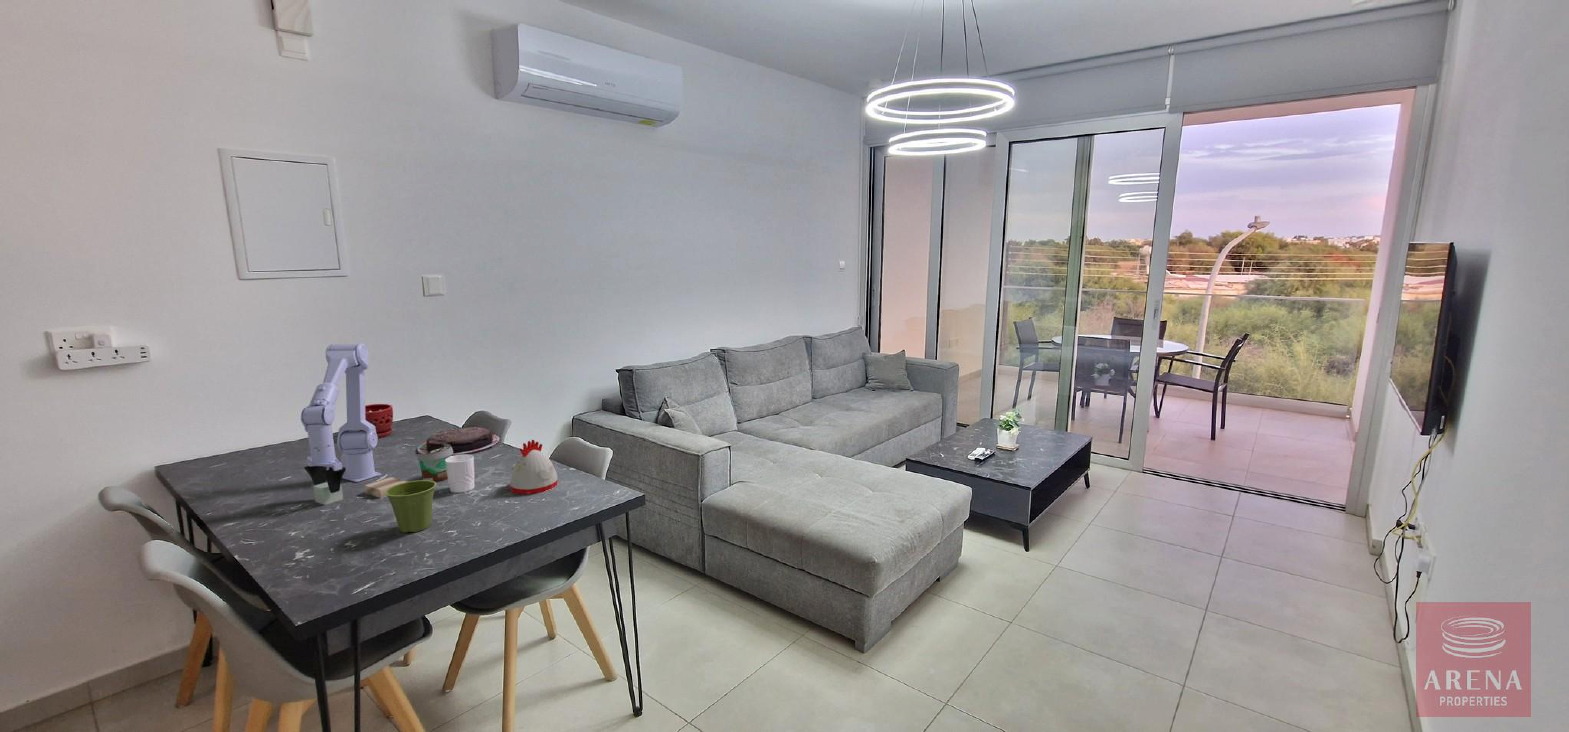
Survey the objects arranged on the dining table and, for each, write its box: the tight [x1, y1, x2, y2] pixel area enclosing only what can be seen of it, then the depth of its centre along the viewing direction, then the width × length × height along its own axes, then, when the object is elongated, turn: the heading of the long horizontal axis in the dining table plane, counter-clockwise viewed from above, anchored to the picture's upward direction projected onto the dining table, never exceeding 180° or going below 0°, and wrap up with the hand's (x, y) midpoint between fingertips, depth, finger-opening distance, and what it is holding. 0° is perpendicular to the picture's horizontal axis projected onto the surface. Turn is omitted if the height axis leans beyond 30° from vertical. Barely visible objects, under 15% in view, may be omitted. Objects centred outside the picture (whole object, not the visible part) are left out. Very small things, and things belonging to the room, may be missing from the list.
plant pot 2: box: [385, 479, 437, 533], centre depth 166 cm, size 12×12×11 cm
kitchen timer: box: [509, 439, 559, 495], centre depth 195 cm, size 14×14×15 cm
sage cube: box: [313, 481, 344, 506], centre depth 185 cm, size 5×5×5 cm
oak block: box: [364, 476, 408, 499], centre depth 192 cm, size 8×8×3 cm
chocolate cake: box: [417, 426, 500, 456], centre depth 237 cm, size 28×28×7 cm
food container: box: [417, 444, 453, 483], centre depth 202 cm, size 12×6×10 cm, turn 168°
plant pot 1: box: [358, 403, 394, 439], centre depth 250 cm, size 13×13×12 cm
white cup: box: [445, 454, 476, 494], centre depth 193 cm, size 8×8×10 cm
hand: (327, 489), depth 185 cm, fingers open, 7 cm apart
